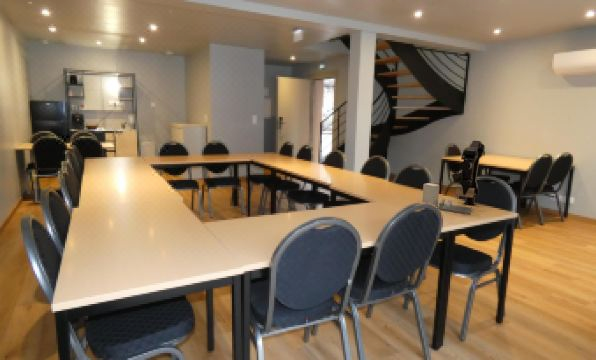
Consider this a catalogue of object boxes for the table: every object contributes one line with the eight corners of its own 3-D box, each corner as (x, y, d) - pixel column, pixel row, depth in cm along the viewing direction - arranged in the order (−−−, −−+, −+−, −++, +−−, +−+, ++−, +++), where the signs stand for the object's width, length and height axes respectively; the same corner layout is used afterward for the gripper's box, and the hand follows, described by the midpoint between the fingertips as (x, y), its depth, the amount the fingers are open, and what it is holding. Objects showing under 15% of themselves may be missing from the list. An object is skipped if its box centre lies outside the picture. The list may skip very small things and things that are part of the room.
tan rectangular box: (456, 193, 232) (457, 186, 231) (473, 196, 228) (474, 188, 227) (455, 195, 228) (456, 187, 227) (473, 197, 223) (474, 189, 223)
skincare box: (437, 208, 233) (440, 185, 231) (431, 209, 230) (434, 185, 227) (426, 204, 240) (429, 182, 238) (420, 205, 237) (423, 183, 234)
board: (441, 204, 242) (442, 197, 241) (471, 209, 234) (472, 202, 233) (438, 209, 229) (439, 202, 228) (470, 214, 221) (471, 207, 220)
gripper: (455, 165, 237) (451, 189, 240) (452, 169, 220) (448, 194, 223) (474, 167, 232) (470, 192, 235) (472, 171, 215) (469, 197, 218)
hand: (464, 193), depth 228 cm, fingers closed on tan rectangular box, 5 cm apart
